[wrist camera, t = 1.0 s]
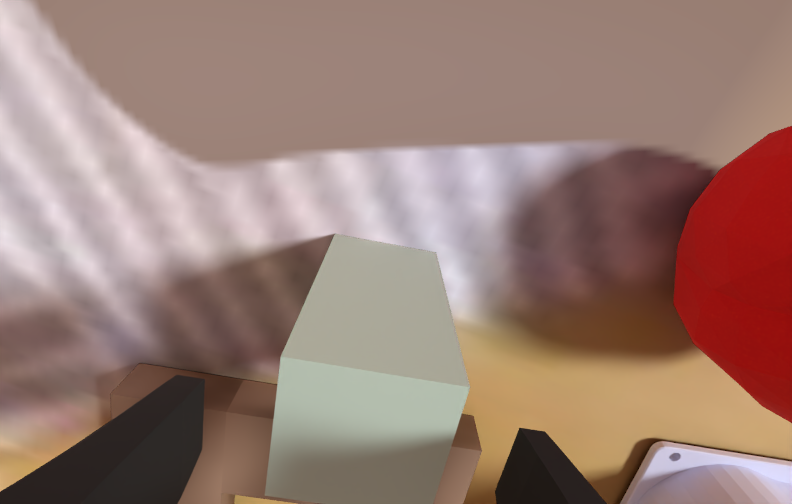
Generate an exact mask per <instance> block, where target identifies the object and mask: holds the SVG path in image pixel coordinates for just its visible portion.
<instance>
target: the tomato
mask: <svg viewBox="0 0 792 504" xmlns="http://www.w3.org/2000/svg"><path fill="white" fill-rule="evenodd" d="M674 306H675V308H676V310H677V312H678V314H679V316H680V318H681V320H682V322H683V324H684V326H685V328H686V330H687V332H688V334H689V336H690V338H691V340H692V342H693V343H694V344H695V345H696V346H697V347H698V348H699V349H700V350H701V351H703V352H704V353H705V354H706V355H707V356H708V357H709V358H710V359H711V360H713V361H714V362H715V363H716V364H717V365H718V366H719V367H720V368H722V369H723V370H724V371H725V372H726V373H727V374H728V375H729V376H730V377H732V378H733V379H734V380H735V381H736V382H737V383H738V384H739V385H740V386H741V387H743V388H744V389H745V390H746V391H747V392H748V393H749V394H750V395H751V396H752V397H753V398H754V399H755V400H756V401H757V402H758V403H759V404H761V405H762V406H763V407H765V408H766V409H768V410H770V411H772V412H773V413H775V414H777V415H779V416H781V417H782V418H784V419H786V420H788V421H789V422H791V423H792V126H790V127H787V128H784V129H781V130H778V131H775V132H773V133H770V134H768V135H767V136H766V137H764V138H763V139H761V140H760V141H759V142H757V143H756V144H754V145H753V146H752V147H750V148H749V149H748V150H746V151H745V152H743V153H742V154H741V155H739V156H738V157H737V158H735V159H734V160H733V161H731V162H730V163H728V164H727V165H726V166H724V167H723V168H722V169H720V170H719V171H718V173H717V174H716V175H715V177H714V178H713V179H712V181H711V182H710V183H709V185H708V186H707V187H706V188H705V190H704V191H703V192H702V194H701V195H700V196H699V198H698V199H697V200H696V202H695V203H694V204H693V206H692V207H691V208H690V211H689V214H688V217H687V220H686V223H685V226H684V229H683V232H682V235H681V238H680V241H679V244H678V247H677V259H676V272H675V287H674Z"/></svg>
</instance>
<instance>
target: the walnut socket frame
mask: <svg viewBox="0 0 792 504" xmlns="http://www.w3.org/2000/svg"><path fill="white" fill-rule="evenodd" d="M176 375H182V376H189V377H195V378H201V379H205V390H204V417H203V443H202V451H201V453H200V456H199V458H198V460H197V463H196V465H195V467H194V470H193V472H192V474H191V477H190V479H189V481H188V483H187V485H186V488H185V490H184V492H183V494H182V496H181V498H180V500H179V502H178V504H234V497H235V495H241V496H248V497H255V498H262V499H270V500H277V501H284V502H291V503H298V504H321V503H314V502H307V501H300V500H293V499H285V498H278V497H271V496H265V489H266V480H267V471H268V463H269V454H270V445H271V437H272V428H273V419H274V410H275V402H276V393H277V385H275V384H268V383H262V382H256V381H249V380H243V379H237V378H230V377H224V376H218V375H212V374H205V373H199V372H193V371H186V370H180V369H174V368H167V367H161V366H155V365H149V364H142V363H139V364H138V366H137V367H136V368H135V369H134V370H133V371H132V372H131V373H130V374H129V375H128V376H127V377H126V378H125V379H124V380H123V381H122V382H121V383H120V384H119V385H118V386H117V388H116V389H115V390H114V391H113V392H112V393H111V394H110V401H111V417H112V420H113V419H114V418H115V417H117V416H118V415H120V414H121V413H123V412H124V411H125V410H127V409H128V408H130V407H131V406H133V405H134V404H135V403H137V402H138V401H140V400H141V399H142V398H144V397H145V396H147V395H148V394H149V393H151V392H152V391H154V390H155V389H157V388H158V387H159V386H161V385H162V384H164V383H165V382H167V381H168V380H170V379H171V378H172V377H174V376H176ZM481 452H482V450H481V446H480V441H479V437H478V433H477V429H476V425H475V420H474V416H470V415H464V414H461V417H460V420H459V424H458V427H457V430H456V433H455V436H454V439H453V443H452V446H451V449H450V452H449V455H448V458H447V461H446V465H445V468H444V471H443V474H442V477H441V480H440V484H439V487H438V490H437V493H436V496H435V499H434V502H433V504H463V503H464V500H465V497H466V494H467V491H468V489H469V486H470V483H471V480H472V477H473V475H474V472H475V469H476V466H477V463H478V460H479V458H480V455H481Z"/></svg>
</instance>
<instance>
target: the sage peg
mask: <svg viewBox="0 0 792 504" xmlns="http://www.w3.org/2000/svg"><path fill="white" fill-rule="evenodd" d="M469 389H470V385H469V381H468V378H467V374H466V370H465V366H464V362H463V358H462V354H461V350H460V346H459V342H458V338H457V334H456V330H455V326H454V322H453V318H452V314H451V310H450V306H449V302H448V298H447V294H446V290H445V286H444V282H443V278H442V274H441V270H440V266H439V262H438V258H437V254H436V252H431V251H425V250H420V249H414V248H409V247H404V246H398V245H393V244H387V243H382V242H377V241H371V240H366V239H360V238H355V237H349V236H344V235H339V234H335V235H334V237H333V239H332V242H331V244H330V246H329V248H328V251H327V253H326V255H325V257H324V260H323V262H322V264H321V266H320V269H319V271H318V273H317V276H316V278H315V280H314V282H313V285H312V287H311V289H310V291H309V294H308V296H307V298H306V300H305V303H304V305H303V307H302V309H301V312H300V314H299V316H298V319H297V321H296V323H295V325H294V328H293V330H292V332H291V334H290V337H289V339H288V341H287V343H286V346H285V348H284V350H283V352H282V355H281V358H280V367H279V376H278V384H277V393H276V402H275V410H274V419H273V428H272V437H271V445H270V454H269V463H268V471H267V480H266V489H265V496H271V497H278V498H285V499H293V500H300V501H307V502H314V503H321V504H433V502H434V499H435V496H436V493H437V490H438V487H439V484H440V480H441V477H442V474H443V471H444V468H445V465H446V461H447V458H448V455H449V452H450V449H451V446H452V443H453V439H454V436H455V433H456V430H457V427H458V424H459V420H460V417H461V414H462V411H463V408H464V405H465V402H466V398H467V395H468V392H469Z"/></svg>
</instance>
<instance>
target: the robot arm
mask: <svg viewBox="0 0 792 504" xmlns="http://www.w3.org/2000/svg"><path fill="white" fill-rule="evenodd" d="M204 390H205V379H201V378H195V377H189V376H182V375H176V376H174V377H172V378H171V379H170V380H168V381H167V382H165V383H164V384H162V385H161V386H159V387H158V388H157V389H155V390H154V391H152V392H151V393H149V394H148V395H147V396H145V397H144V398H142V399H141V400H140V401H138V402H137V403H135V404H134V405H133V406H131V407H130V408H128V409H127V410H125V411H124V412H123V413H121V414H120V415H118V416H117V417H115V418H114V419H113V420H111V421H110V422H108V423H107V424H105V425H104V426H102V427H101V428H99V429H98V430H96V431H95V432H93V433H92V434H90V435H89V436H87V437H86V438H85V439H83V440H82V441H80V442H79V443H77V444H76V445H74V446H73V447H71V448H70V449H68V450H67V451H65V452H63V453H62V454H60V455H59V456H57V457H55V458H54V459H52V460H51V461H49V462H48V463H46V464H44V465H43V466H41V467H40V468H38V469H36V470H35V471H33V472H32V473H30V474H28V475H27V476H25V477H24V478H22V479H20V480H19V481H17V482H16V483H14V484H12V485H11V486H9V487H7V488H6V489H4V490H2V491H1V492H0V504H178V502H179V500H180V498H181V496H182V494H183V492H184V490H185V488H186V485H187V483H188V481H189V479H190V477H191V474H192V472H193V470H194V467H195V465H196V463H197V460H198V458H199V456H200V453H201V451H202V443H203V417H204ZM495 494H496V502H497V504H607V503H606V502H605V501H604V500H603V499H602V498H601V496H600V495H599V494H598V493H597V492H596V491H595V489H594V488H593V487H592V486H591V485H590V484H589V482H588V481H587V480H586V479H585V478H584V477H583V475H582V474H581V473H580V472H579V471H578V469H577V468H576V467H575V466H574V465H573V463H572V462H571V461H570V460H569V459H568V458H567V456H566V455H565V454H564V453H563V452H562V451H561V449H560V448H559V447H558V446H557V445H556V444H555V442H554V441H553V440H552V439H551V438H550V437H549V436H548V435H547V433H546V432H543V431H537V430H530V429H524V428H519V431H518V433H517V436H516V439H515V441H514V444H513V446H512V449H511V452H510V454H509V457H508V459H507V462H506V464H505V467H504V470H503V472H502V475H501V477H500V480H499V482H498V485H497V488H496V490H495ZM620 504H792V462H791V461H785V460H778V459H772V458H766V457H760V456H753V455H747V454H741V453H735V452H728V451H722V450H716V449H709V448H703V447H697V446H691V445H684V444H678V443H672V442H666V441H659V442H656V443H654V444H653V445H652V446H651V447H650V449H649V451H648V453H647V455H646V457H645V459H644V460H643V462H642V464H641V466H640V468H639V470H638V471H637V473H636V475H635V477H634V479H633V481H632V483H631V484H630V486H629V488H628V490H627V492H626V494H625V495H624V497H623V499H622V501H621V503H620Z"/></svg>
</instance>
